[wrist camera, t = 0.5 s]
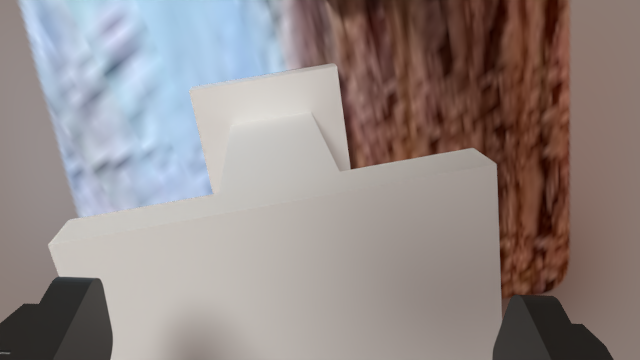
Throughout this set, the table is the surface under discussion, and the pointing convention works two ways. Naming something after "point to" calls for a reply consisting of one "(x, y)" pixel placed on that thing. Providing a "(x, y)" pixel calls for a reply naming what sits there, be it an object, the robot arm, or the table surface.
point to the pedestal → (299, 242)
